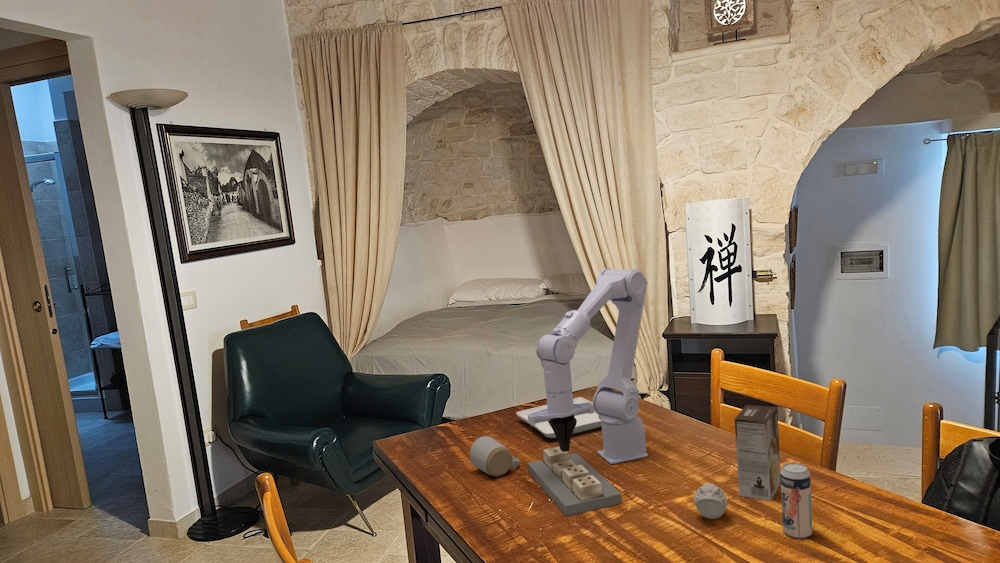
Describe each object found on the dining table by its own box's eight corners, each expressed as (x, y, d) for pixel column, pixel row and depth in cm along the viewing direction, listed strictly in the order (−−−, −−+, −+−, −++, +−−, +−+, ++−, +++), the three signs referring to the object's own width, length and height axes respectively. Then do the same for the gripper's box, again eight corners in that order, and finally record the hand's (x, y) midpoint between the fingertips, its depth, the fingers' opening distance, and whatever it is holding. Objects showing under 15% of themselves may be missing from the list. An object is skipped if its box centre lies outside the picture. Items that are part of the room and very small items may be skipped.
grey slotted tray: (576, 461, 159) (576, 452, 159) (622, 503, 136) (621, 493, 136) (528, 471, 156) (527, 462, 156) (566, 516, 133) (565, 506, 133)
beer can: (777, 528, 121) (774, 464, 119) (803, 524, 121) (800, 460, 120) (791, 541, 116) (788, 475, 115) (818, 538, 116) (815, 471, 115)
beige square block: (593, 489, 140) (592, 474, 139) (602, 498, 136) (601, 482, 135) (573, 494, 139) (572, 478, 138) (581, 503, 134) (580, 487, 134)
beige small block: (582, 478, 146) (581, 464, 145) (590, 486, 141) (589, 471, 141) (563, 483, 144) (561, 468, 144) (570, 491, 140) (569, 475, 140)
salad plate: (547, 445, 171) (546, 432, 171) (515, 422, 191) (514, 410, 190) (620, 428, 179) (619, 415, 178) (582, 407, 198) (581, 396, 198)
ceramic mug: (488, 482, 152) (485, 449, 151) (470, 471, 159) (467, 440, 158) (527, 469, 158) (524, 437, 157) (508, 459, 164) (505, 429, 164)
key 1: (562, 459, 157) (561, 445, 157) (569, 466, 153) (568, 452, 152) (544, 463, 156) (543, 449, 155) (550, 470, 152) (549, 455, 151)
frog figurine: (693, 526, 124) (690, 490, 124) (696, 508, 131) (694, 474, 130) (728, 529, 122) (726, 492, 121) (729, 510, 129) (727, 475, 128)
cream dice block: (572, 473, 151) (571, 459, 151) (579, 481, 147) (578, 466, 147) (553, 477, 150) (552, 463, 150) (560, 485, 146) (559, 470, 146)
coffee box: (749, 477, 142) (745, 403, 140) (781, 482, 138) (778, 406, 136) (738, 496, 134) (733, 418, 132) (772, 501, 131) (768, 421, 129)
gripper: (582, 379, 152) (588, 437, 154) (521, 390, 148) (527, 450, 150) (595, 387, 145) (600, 448, 147) (531, 399, 141) (537, 461, 143)
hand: (564, 450), depth 148 cm, fingers closed
